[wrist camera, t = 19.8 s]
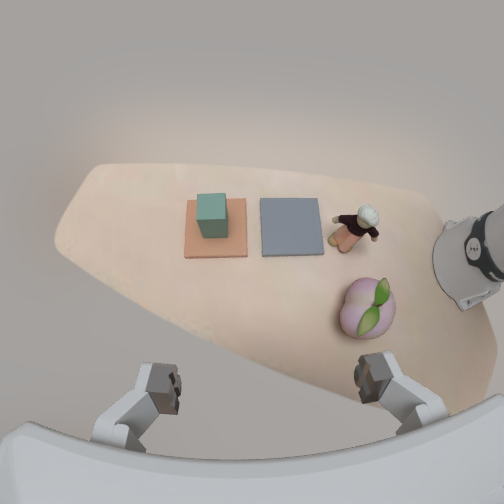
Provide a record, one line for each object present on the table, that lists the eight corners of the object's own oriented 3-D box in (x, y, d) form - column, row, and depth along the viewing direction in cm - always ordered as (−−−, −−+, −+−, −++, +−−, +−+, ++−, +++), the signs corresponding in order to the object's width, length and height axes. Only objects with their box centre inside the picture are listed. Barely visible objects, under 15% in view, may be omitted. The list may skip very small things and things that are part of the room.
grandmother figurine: (320, 248, 46) (345, 217, 34) (324, 227, 47) (347, 191, 35) (362, 258, 46) (397, 232, 34) (364, 238, 47) (397, 207, 35)
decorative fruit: (368, 347, 41) (397, 348, 32) (324, 331, 42) (346, 329, 33) (384, 295, 44) (415, 283, 35) (343, 278, 45) (367, 261, 35)
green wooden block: (228, 215, 47) (225, 193, 39) (228, 237, 45) (225, 218, 38) (204, 215, 46) (197, 194, 39) (203, 238, 45) (196, 219, 38)
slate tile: (316, 200, 49) (317, 198, 48) (322, 255, 46) (324, 253, 45) (260, 200, 49) (260, 198, 48) (262, 256, 46) (262, 254, 45)
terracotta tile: (245, 201, 49) (245, 198, 48) (246, 256, 46) (246, 255, 45) (188, 203, 48) (187, 200, 47) (185, 258, 45) (184, 256, 44)
